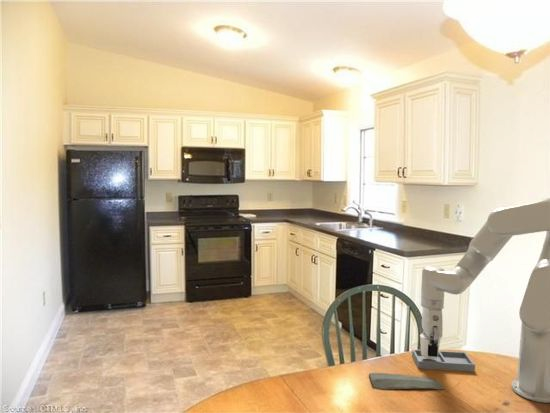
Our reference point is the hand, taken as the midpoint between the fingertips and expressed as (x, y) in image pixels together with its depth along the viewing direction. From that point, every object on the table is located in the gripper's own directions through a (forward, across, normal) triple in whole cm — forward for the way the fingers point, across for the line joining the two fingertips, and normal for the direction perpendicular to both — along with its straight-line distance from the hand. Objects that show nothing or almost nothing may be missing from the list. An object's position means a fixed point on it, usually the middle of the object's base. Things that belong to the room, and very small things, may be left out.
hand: (429, 351), depth 148 cm
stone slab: (+5, -15, +11) cm, 19 cm away
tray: (+4, 0, -4) cm, 6 cm away
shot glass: (+2, 0, 0) cm, 2 cm away
